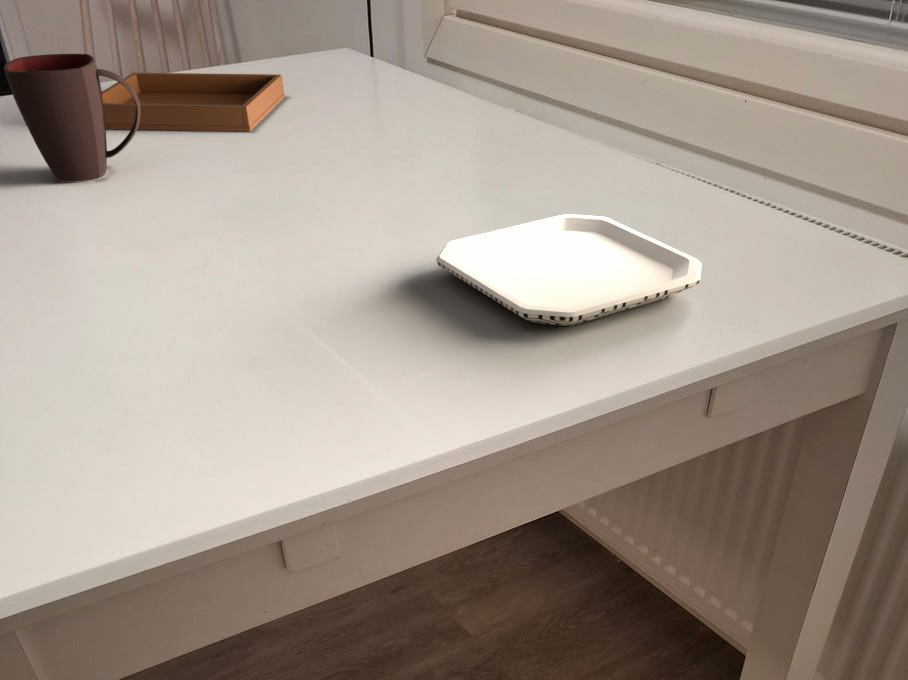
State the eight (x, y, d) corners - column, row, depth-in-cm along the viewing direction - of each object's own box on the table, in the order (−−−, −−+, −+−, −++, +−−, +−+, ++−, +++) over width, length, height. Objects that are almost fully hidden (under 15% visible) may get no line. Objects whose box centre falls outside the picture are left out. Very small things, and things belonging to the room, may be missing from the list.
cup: (44, 166, 115) (11, 56, 107) (157, 158, 117) (132, 50, 109) (34, 190, 108) (-4, 74, 100) (153, 182, 110) (126, 67, 102)
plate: (420, 270, 89) (419, 246, 88) (586, 229, 97) (588, 207, 96) (541, 348, 76) (542, 323, 75) (721, 294, 84) (725, 270, 83)
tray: (87, 128, 128) (81, 104, 126) (138, 95, 142) (133, 72, 140) (250, 131, 126) (246, 106, 124) (285, 97, 141) (281, 74, 138)
